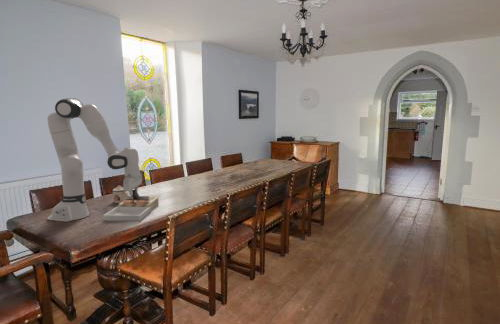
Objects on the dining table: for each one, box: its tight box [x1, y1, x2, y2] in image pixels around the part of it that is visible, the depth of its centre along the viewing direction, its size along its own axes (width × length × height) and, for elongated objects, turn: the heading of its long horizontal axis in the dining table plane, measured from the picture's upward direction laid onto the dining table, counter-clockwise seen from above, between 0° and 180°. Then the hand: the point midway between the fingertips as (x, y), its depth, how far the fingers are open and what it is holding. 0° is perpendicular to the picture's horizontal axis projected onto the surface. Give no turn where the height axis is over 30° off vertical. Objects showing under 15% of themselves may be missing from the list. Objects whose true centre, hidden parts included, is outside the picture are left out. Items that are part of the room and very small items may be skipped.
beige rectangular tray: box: [118, 196, 160, 211], centre depth 199 cm, size 20×17×5 cm
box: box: [102, 205, 152, 222], centre depth 182 cm, size 22×17×4 cm
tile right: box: [136, 200, 147, 205], centre depth 191 cm, size 5×5×2 cm
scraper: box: [124, 189, 150, 201], centre depth 192 cm, size 16×3×10 cm
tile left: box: [123, 199, 134, 205], centre depth 191 cm, size 5×5×2 cm
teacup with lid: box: [112, 185, 129, 204], centre depth 212 cm, size 12×9×12 cm
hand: (133, 194), depth 190 cm, fingers closed on scraper, 5 cm apart
